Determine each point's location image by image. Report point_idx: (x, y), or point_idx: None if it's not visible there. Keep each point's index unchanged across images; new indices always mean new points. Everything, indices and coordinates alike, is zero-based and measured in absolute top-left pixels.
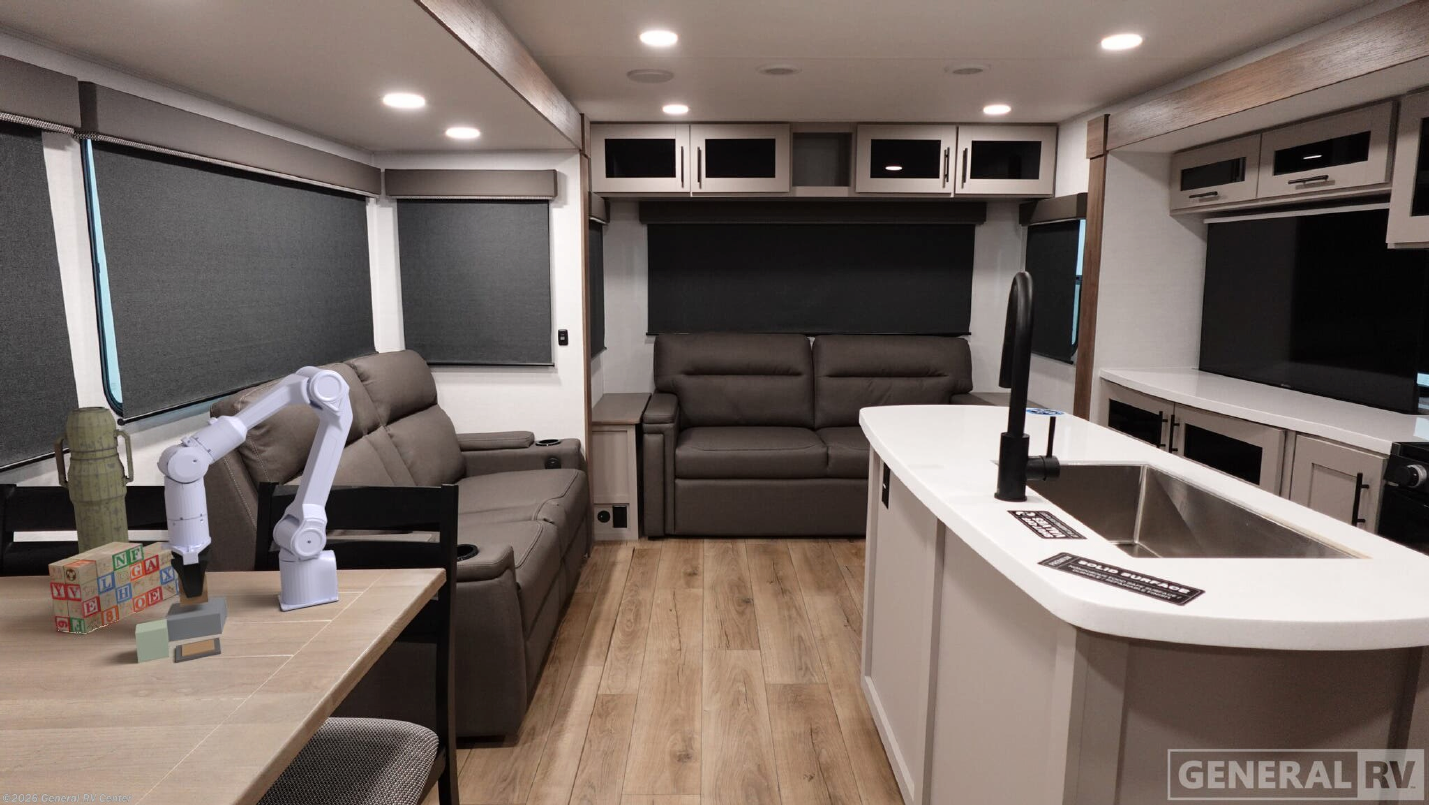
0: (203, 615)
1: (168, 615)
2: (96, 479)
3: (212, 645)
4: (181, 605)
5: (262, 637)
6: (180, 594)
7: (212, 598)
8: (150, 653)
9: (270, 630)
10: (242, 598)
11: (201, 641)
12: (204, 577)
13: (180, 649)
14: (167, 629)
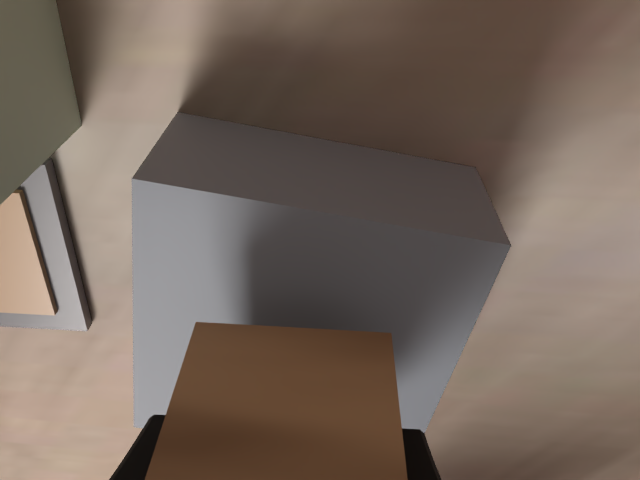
0: (135, 369)
1: (247, 212)
2: None
3: None
4: (195, 334)
5: (52, 433)
6: (169, 413)
7: (421, 424)
8: None
9: (117, 458)
10: (596, 435)
11: (63, 269)
12: None
13: None
14: (19, 181)
